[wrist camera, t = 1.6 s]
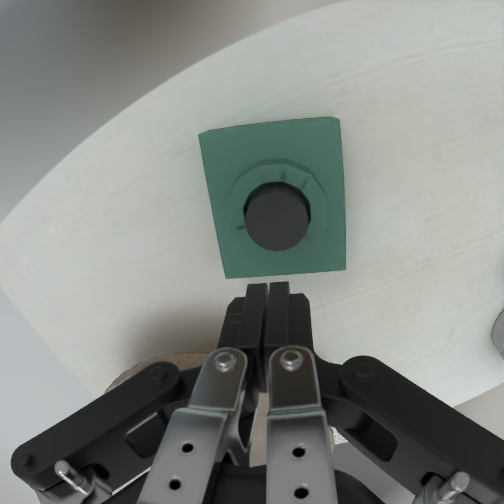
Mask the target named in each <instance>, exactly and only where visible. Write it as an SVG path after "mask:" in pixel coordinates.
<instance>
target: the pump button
mask: <svg viewBox="0 0 504 504" xmlns="http://www.w3.org/2000/svg"><path fill="white" fill-rule="evenodd" d="M245 226H246V230H247V232H248V234H249V236H250V238H251V239H252V240H253V241H254V242H255V243H256V244H257V245H259V246H260V247H262V248H264V249H267V250H271V251H284V250H288V249H290V248H292V247H294V246H296V245H297V244H298V243H299V242H300V241H301V240H302V239H303V238H304V236H305V234H306V232H307V229H308V215H307V210H306V206H305V202H304V200H303V198H302V197H301V196H300V194H299V193H298V192H296V191H295V190H294V189H292V188H290V187H288V186H285V185H278V184H277V185H269V186H266V187H264V188H262V189H260V190H259V191H258V192H257V193H256V194H255V195H254V196H253V197H252V199H251V201H250V204H249V207H248V210H247V213H246V217H245Z"/></svg>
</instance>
